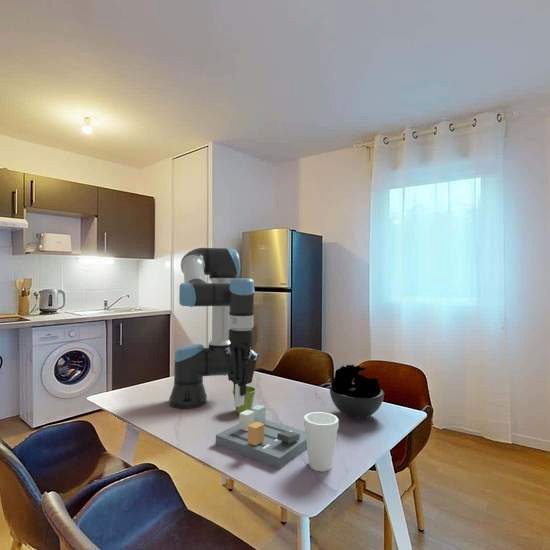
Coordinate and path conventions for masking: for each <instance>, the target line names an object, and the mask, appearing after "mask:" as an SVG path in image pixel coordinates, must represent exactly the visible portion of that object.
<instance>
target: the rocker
mask: <svg viewBox="0 0 550 550" xmlns="http://www.w3.org/2000/svg"><path fill="white" fill-rule="evenodd" d="M299 437H300V434H297V433H294V432H290V431H286V432H282V433H278V436H277V439H278V440H281V441H284V442H287V443H290V442H294V441H297V440H299Z"/></svg>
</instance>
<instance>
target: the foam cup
mask: <svg viewBox="0 0 550 550" xmlns="http://www.w3.org/2000/svg"><path fill="white" fill-rule="evenodd" d="M303 426H304V431H305V433H306V442H307V449H306V450H307V457H308V458H307V459H308V465H309V467H310V469H312V470H314V471H318V472H327V471H330V470H332V467H333V463H334V458H335V457H334V456H335V449H336V442H337V435H338V430H339V418H338V417H337V415H335V414H333V413H330V412H321V411H314V412H309V413H307V414H306V413H305V415H304V416H303Z"/></svg>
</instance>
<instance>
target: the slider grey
mask: <svg viewBox="0 0 550 550" xmlns="http://www.w3.org/2000/svg"><path fill="white" fill-rule="evenodd" d="M266 408H267V407H266V405H265V406H264V405H261V404H256V405H255V406H252V408H251V411H254V412H255V419H254V423H255V422H260V423H263V422H265V420H266V412H267V410H266Z"/></svg>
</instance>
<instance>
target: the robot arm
mask: <svg viewBox="0 0 550 550" xmlns="http://www.w3.org/2000/svg"><path fill="white" fill-rule="evenodd" d="M180 270H181V272H182V274H183V277H184V278H183V281H184V282H181V283H180V284H179V290H178V291H179V293H178V294H179V295H178V297H179V299H178V301H179V305H180V306H182V307H190V308H191V307H212V320H211V321H212V323H211V324H212V327H211V328H212V329H211V331H212V332H211V334H212V335H211V336H212V337H211V340H210V341H209V342H208V347H205V346H204V345H203V344H201V343H198V344H197V343H196V344H195V343H194V344H193V343H192V344H188V345H183V346H181V347H178V348H177V349H175V352H174V360H173V362H174V370H173V371H174V374H173V375H174V377H173V387H172V390H171V393H170V396H169V400H168V401H169V403H168V404H169V406H170V407H172V408H176V409H194V408H195V409H196V408H198V407H202V406H204V405H205V404H207V401H208V400H207V399H208V395H207V393H206V390H205V386H204V377H211V376H212V377H215V376H227V377H228V378H227V379H228V381H230V382H232V383H233V384H232V385H233V388H234V394H235V399H234V406H237V407H239V406H242V405H244V395H246V386H247V385H249V384H251V383H253V378H254V374H255V369H256V364H257V360H258V359H259V357H260V354H259V353H257V352H255V351H254V348H253V341H254V330H253V328H254V321H255V320H254V315H255V314H254V309H255V307H254V306H255V305H254V303H255V291H256V289H255V281H254V279H253V278H245V277H243V278H237V277H238V276H240V275H241V260H240V255H239V253H238V251H237V250H236V249H234V248H225V247H224V248H222V247H219V248H217V247H214V248H213V247H197V248H195V249H191V250H190V251H188V252H187V253H186V254H184V255H183V257H182V259H181V261H180ZM206 276H209V277H208V278H209V281H210V282H207V279H206Z"/></svg>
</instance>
